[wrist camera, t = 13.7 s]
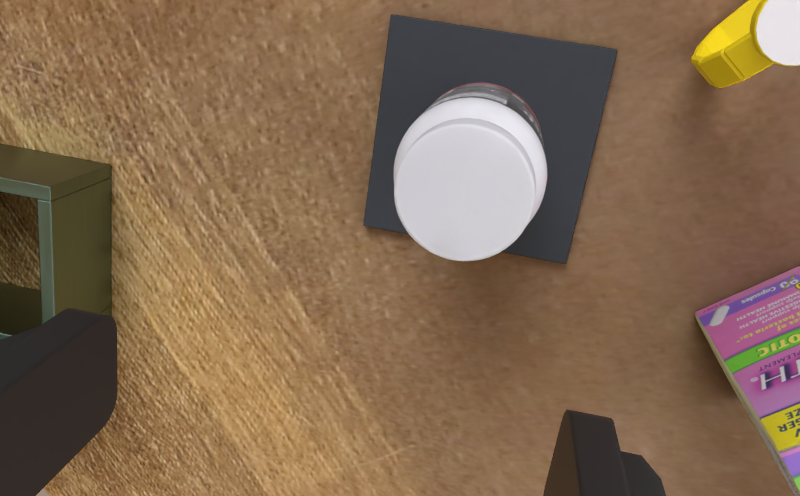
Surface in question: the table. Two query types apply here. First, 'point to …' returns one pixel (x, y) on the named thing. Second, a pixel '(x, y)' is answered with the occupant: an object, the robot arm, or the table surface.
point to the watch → (750, 42)
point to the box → (763, 361)
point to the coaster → (516, 71)
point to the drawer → (60, 236)
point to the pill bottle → (470, 172)
